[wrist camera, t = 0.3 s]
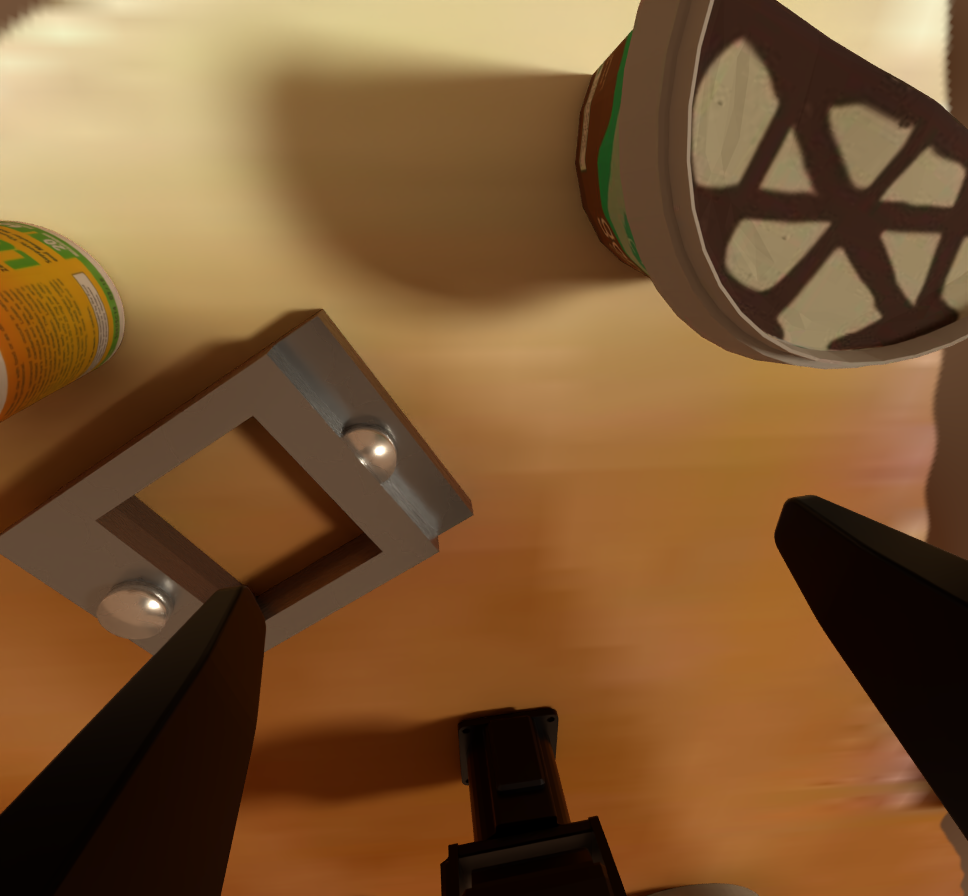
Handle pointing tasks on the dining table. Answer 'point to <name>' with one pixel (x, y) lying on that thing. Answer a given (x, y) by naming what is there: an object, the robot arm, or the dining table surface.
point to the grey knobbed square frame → (306, 437)
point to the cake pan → (707, 890)
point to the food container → (778, 186)
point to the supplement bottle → (51, 314)
